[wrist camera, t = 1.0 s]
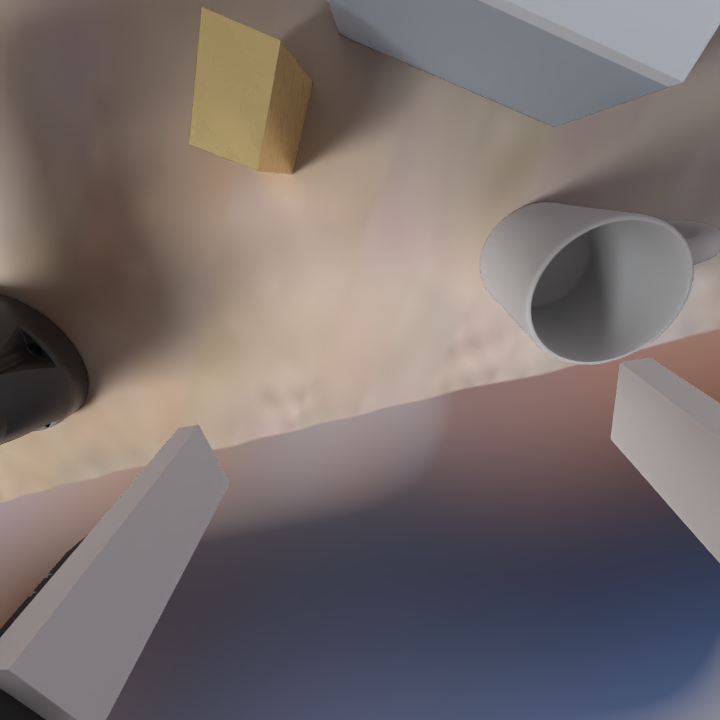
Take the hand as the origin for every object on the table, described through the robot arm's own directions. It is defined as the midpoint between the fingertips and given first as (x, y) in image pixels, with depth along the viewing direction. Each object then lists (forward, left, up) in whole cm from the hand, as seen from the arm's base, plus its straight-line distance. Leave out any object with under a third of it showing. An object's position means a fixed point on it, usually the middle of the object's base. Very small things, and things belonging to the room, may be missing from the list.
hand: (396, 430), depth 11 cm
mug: (+12, +6, -21) cm, 25 cm away
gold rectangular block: (-12, +8, -21) cm, 26 cm away
